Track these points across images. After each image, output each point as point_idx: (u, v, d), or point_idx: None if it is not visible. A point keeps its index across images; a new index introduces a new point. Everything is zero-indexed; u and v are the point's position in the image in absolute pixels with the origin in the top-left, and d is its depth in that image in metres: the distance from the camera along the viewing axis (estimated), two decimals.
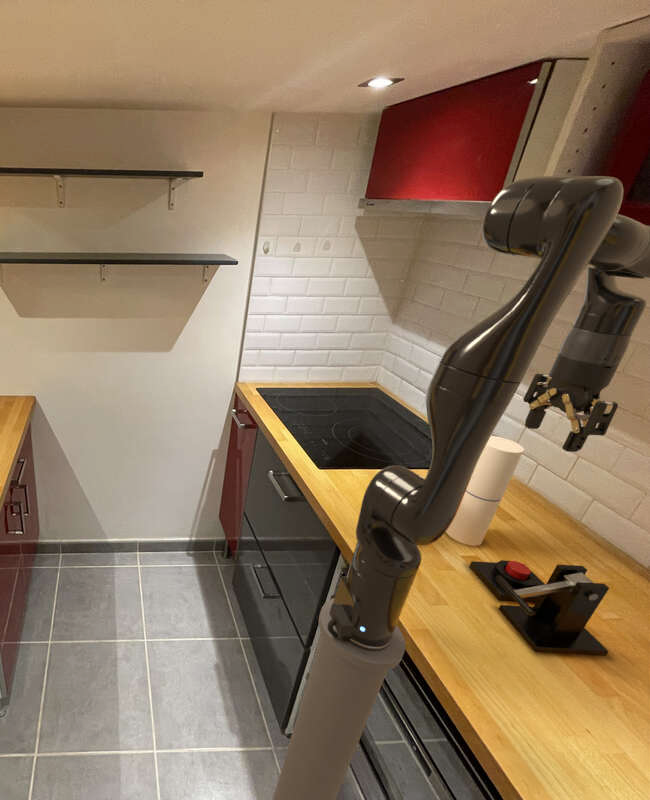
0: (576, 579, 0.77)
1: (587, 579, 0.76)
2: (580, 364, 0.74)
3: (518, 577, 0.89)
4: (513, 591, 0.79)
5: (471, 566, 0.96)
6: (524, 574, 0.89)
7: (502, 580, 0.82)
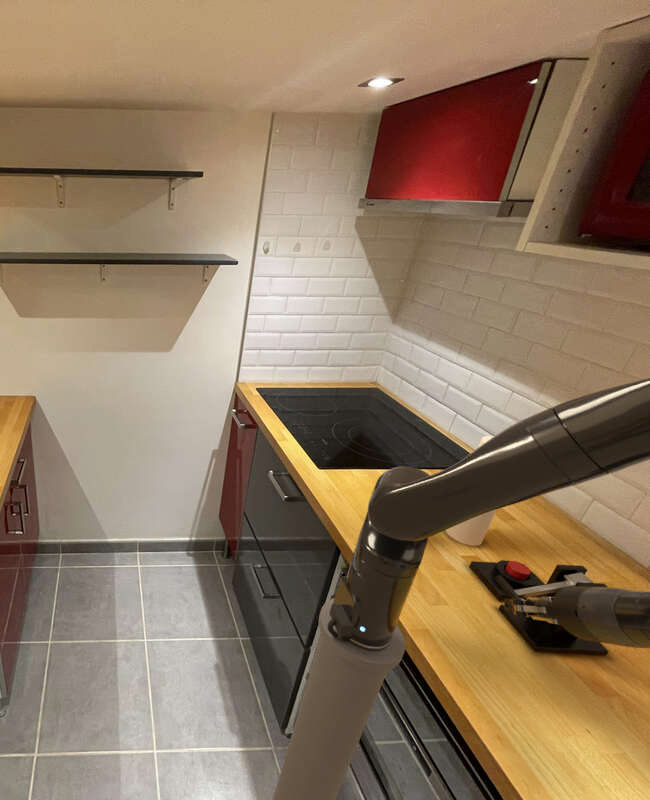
0: (576, 579, 0.77)
1: (587, 579, 0.76)
2: (579, 591, 0.65)
3: (518, 577, 0.89)
4: (513, 591, 0.79)
5: (471, 566, 0.96)
6: (524, 574, 0.89)
7: (502, 580, 0.82)
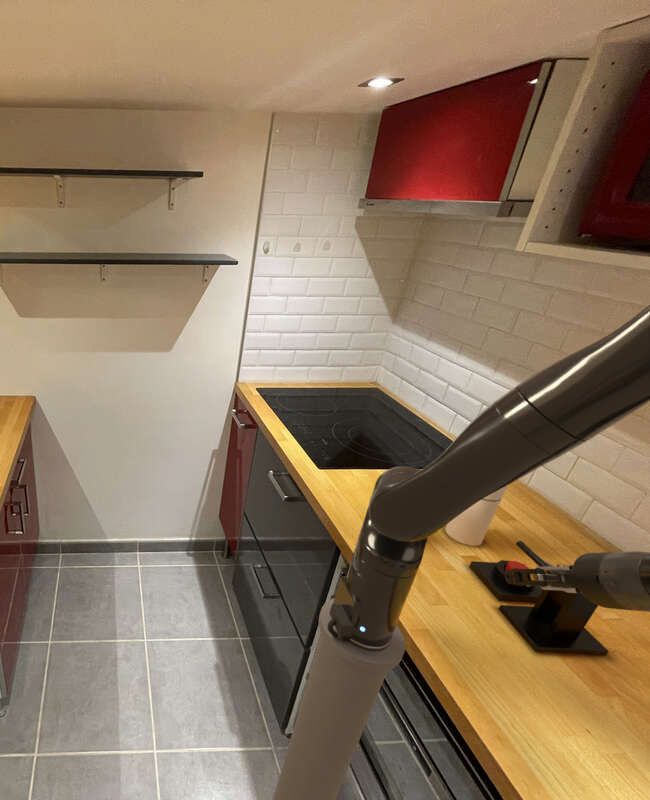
0: None
1: None
2: (600, 557, 0.63)
3: None
4: (538, 556, 0.76)
5: (471, 566, 0.96)
6: None
7: None
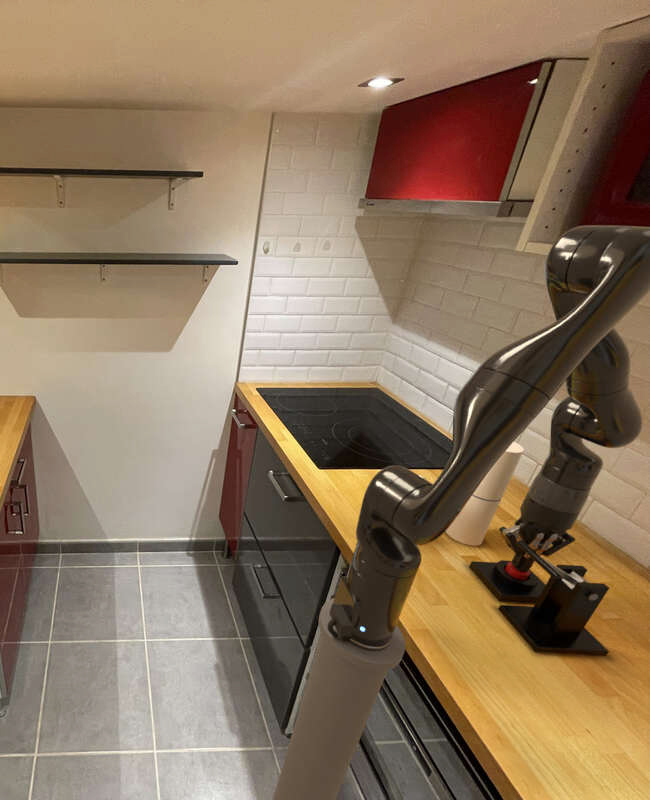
0: (583, 578, 0.77)
1: None
2: None
3: (517, 578, 0.90)
4: (539, 556, 0.76)
5: (471, 566, 0.96)
6: (523, 575, 0.89)
7: (527, 545, 0.78)
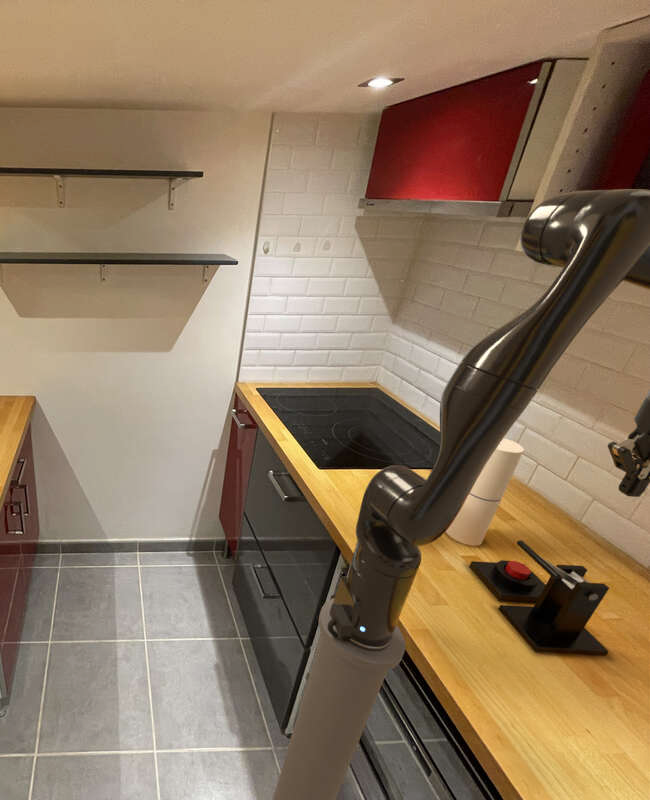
0: (583, 578, 0.77)
1: None
2: None
3: (518, 577, 0.89)
4: (539, 556, 0.76)
5: (471, 566, 0.96)
6: (524, 574, 0.89)
7: (527, 545, 0.78)
